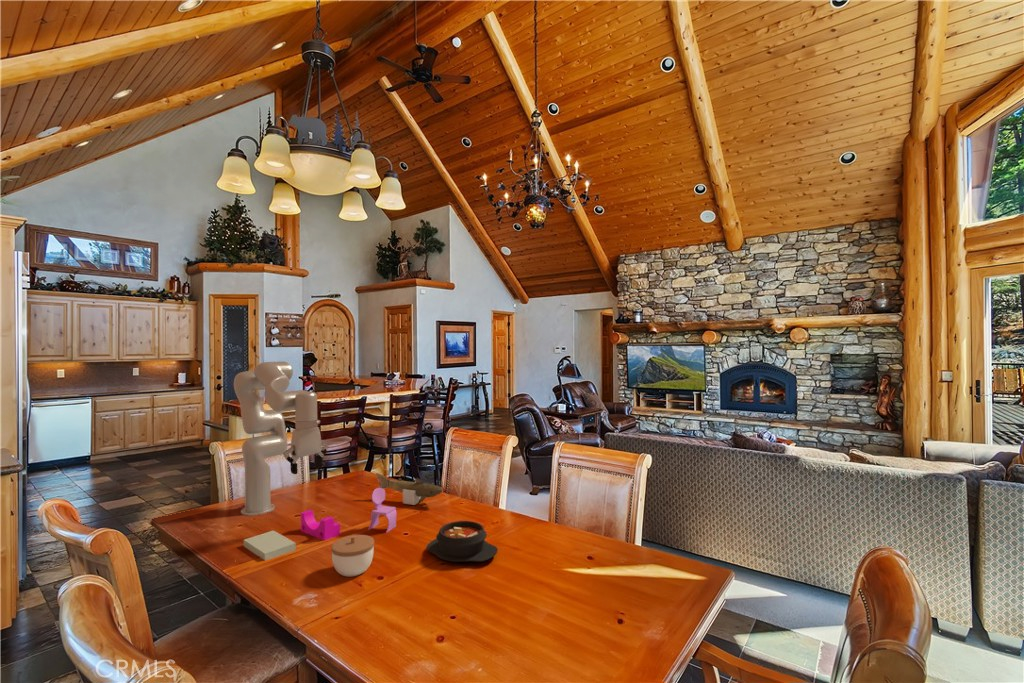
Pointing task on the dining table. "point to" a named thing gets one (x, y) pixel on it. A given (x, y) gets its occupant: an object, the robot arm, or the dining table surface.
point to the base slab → (269, 545)
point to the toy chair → (382, 510)
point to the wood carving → (410, 489)
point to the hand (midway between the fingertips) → (307, 470)
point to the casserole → (462, 543)
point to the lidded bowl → (352, 554)
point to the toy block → (319, 526)
